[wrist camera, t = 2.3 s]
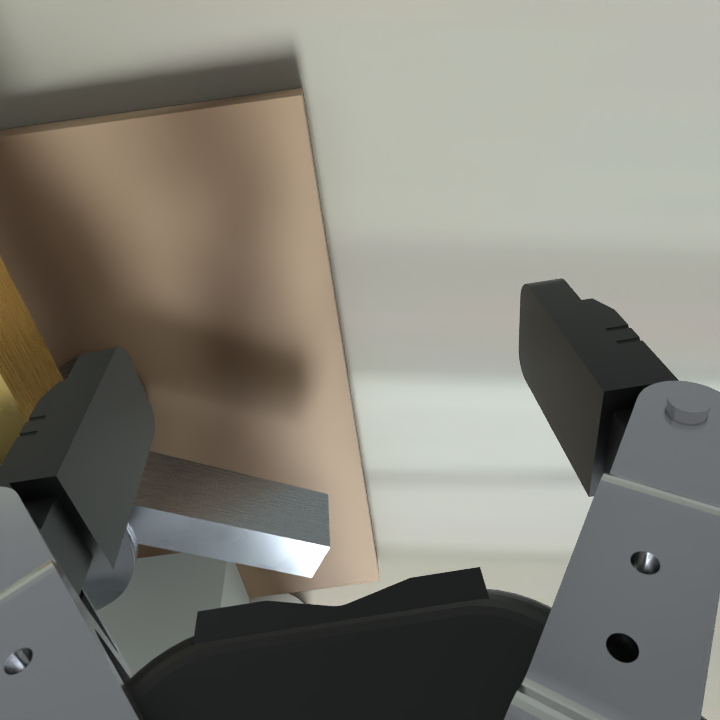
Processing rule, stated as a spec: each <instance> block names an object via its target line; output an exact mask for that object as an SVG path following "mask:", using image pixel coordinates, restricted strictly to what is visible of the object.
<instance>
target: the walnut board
mask: <svg viewBox="0 0 720 720" xmlns="http://www.w3.org/2000/svg"><path fill="white" fill-rule="evenodd" d="M0 256H1V258H2V260H3V262H4V264H5V266H6V268H7V270H8V272H9V274H10V276H11V278H12V280H13V282H14V284H15V286H16V288H17V290H18V292H19V293H20V295H21V297H22V299H23V301H24V303H25V305H26V307H27V309H28V311H29V313H30V315H31V317H32V319H33V321H34V323H35V325H36V327H37V329H38V331H39V333H40V335H41V336H42V338H43V340H44V342H45V344H46V346H47V348H48V350H49V352H50V354H51V356H52V358H53V360H54V362H55V364H56V366H57V368H59V367H60V366H61V365H63V364H64V363H66V362H68V361H71V360H74V359H77V358H78V357H79V356H80V355H81V354H82V353H84V352H91V351H97V350H104V349H110V348H116V347H122V348H124V349H125V350H126V351H127V353H128V354H129V356H130V358H131V361H132V363H133V365H134V368H135V370H136V372H137V375H138V377H139V379H140V380H141V382H142V383H143V385H144V387H145V389H146V391H147V394H148V400H149V402H150V404H151V407H152V410H153V414H154V421H155V432H154V438H153V441H152V444H151V448H150V451H152V452H156V453H160V454H164V455H169V456H173V457H177V458H181V459H185V460H189V461H193V462H197V463H202V464H206V465H210V466H214V467H218V468H222V469H226V470H231V471H235V472H239V473H243V474H247V475H251V476H255V477H259V478H264V479H268V480H272V481H276V482H280V483H284V484H288V485H293V486H297V487H301V488H305V489H309V490H313V491H317V492H321V493H326V494H328V502H329V530H330V548H329V550H328V551H327V553H326V555H325V556H324V558H323V560H322V561H321V563H320V565H319V566H318V568H317V570H316V571H315V573H314V574H313V576H312V578H310V577H304V576H299V575H294V574H289V573H284V572H279V571H274V570H269V569H264V568H259V567H254V566H249V565H244V564H239V563H236V566H237V569H238V571H239V574H240V576H241V579H242V581H243V584H244V587H245V589H246V592H247V594H248V597H249V598H256V597H264V596H271V595H279V594H286V593H294V592H301V591H309V590H316V589H324V588H331V587H339V586H346V585H354V584H361V583H369V582H376V581H380V579H379V570H378V561H377V555H376V549H375V542H374V536H373V530H372V523H371V517H370V511H369V505H368V498H367V492H366V486H365V479H364V473H363V467H362V461H361V454H360V448H359V442H358V435H357V429H356V423H355V416H354V410H353V404H352V398H351V391H350V385H349V379H348V372H347V366H346V360H345V354H344V347H343V341H342V335H341V328H340V322H339V316H338V309H337V303H336V297H335V291H334V284H333V278H332V272H331V265H330V259H329V253H328V247H327V240H326V234H325V228H324V221H323V215H322V209H321V202H320V196H319V190H318V184H317V177H316V171H315V165H314V158H313V152H312V146H311V139H310V133H309V127H308V121H307V114H306V108H305V102H304V95H303V89H302V88H297V89H290V90H283V91H275V92H268V93H261V94H254V95H247V96H240V97H232V98H225V99H218V100H211V101H204V102H197V103H190V104H182V105H175V106H168V107H161V108H154V109H147V110H139V111H132V112H125V113H118V114H111V115H104V116H96V117H89V118H82V119H75V120H68V121H61V122H54V123H46V124H39V125H32V126H25V127H18V128H11V129H3V130H0ZM175 553H182V552H178V551H173V550H168V549H162V548H157V547H152V546H147V545H142V544H138V555H137V558H145V557H152V556H160V555H167V554H175Z"/></svg>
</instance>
